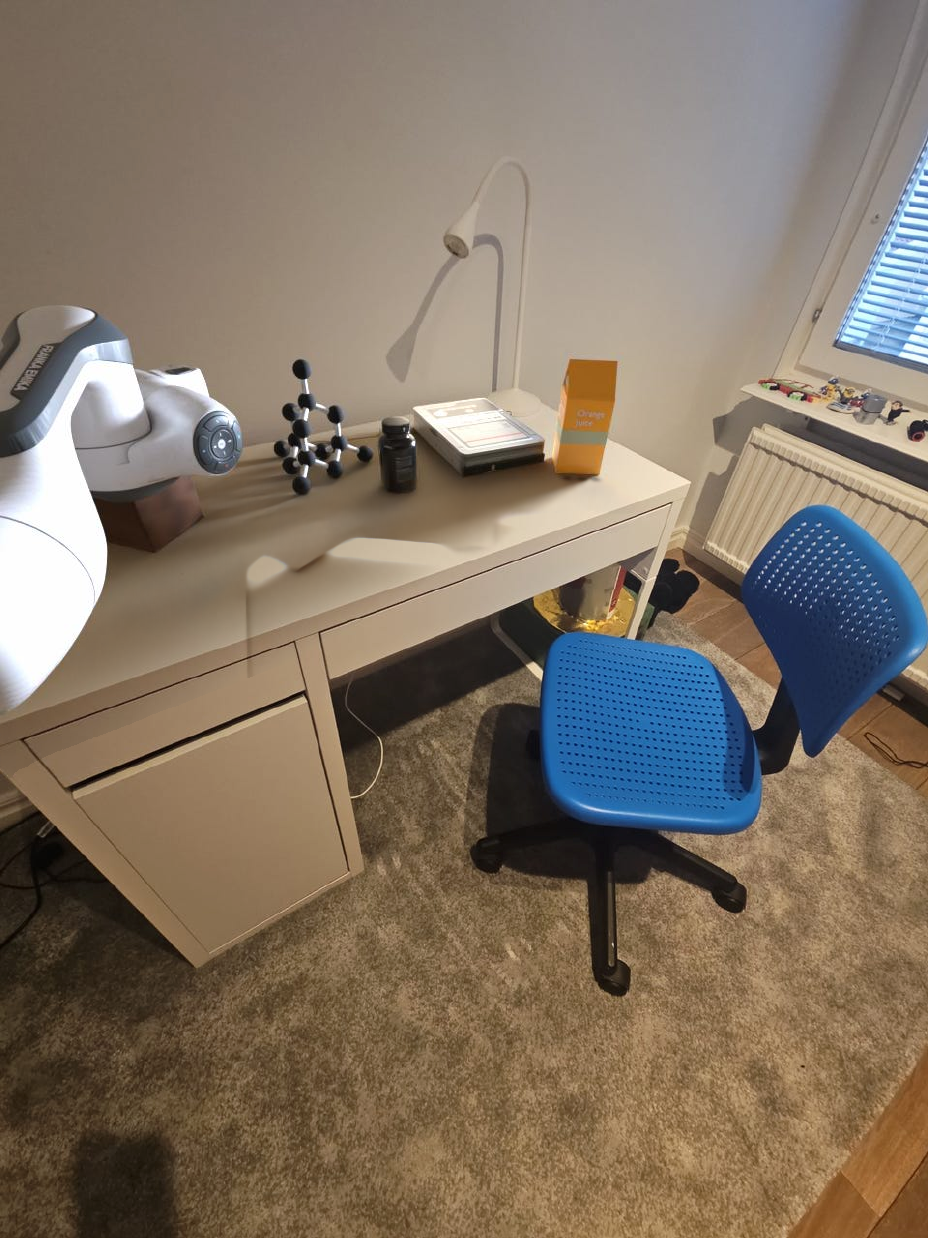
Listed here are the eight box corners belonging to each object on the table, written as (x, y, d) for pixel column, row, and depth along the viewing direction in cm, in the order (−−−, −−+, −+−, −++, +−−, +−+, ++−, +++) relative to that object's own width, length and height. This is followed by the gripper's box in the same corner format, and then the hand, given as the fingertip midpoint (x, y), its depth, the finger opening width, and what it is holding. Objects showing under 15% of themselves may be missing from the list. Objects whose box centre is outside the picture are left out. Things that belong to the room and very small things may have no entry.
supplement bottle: (420, 478, 103) (418, 415, 95) (414, 495, 98) (412, 430, 90) (384, 475, 103) (380, 412, 95) (376, 492, 98) (371, 427, 90)
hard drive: (463, 476, 104) (463, 454, 101) (412, 426, 122) (411, 406, 119) (544, 461, 110) (546, 440, 107) (484, 416, 128) (485, 397, 125)
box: (145, 504, 92) (123, 450, 86) (204, 517, 90) (186, 461, 83) (91, 538, 84) (63, 480, 77) (155, 553, 81) (131, 494, 75)
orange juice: (599, 474, 106) (622, 367, 93) (555, 472, 106) (571, 365, 93) (593, 457, 112) (614, 354, 99) (551, 456, 112) (566, 352, 99)
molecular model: (377, 461, 108) (368, 353, 95) (302, 499, 95) (280, 381, 82) (314, 439, 115) (298, 336, 102) (237, 472, 102) (207, 359, 89)
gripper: (68, 461, 62) (17, 430, 68) (223, 413, 75) (168, 391, 81) (42, 406, 58) (-10, 378, 64) (210, 365, 71) (153, 345, 77)
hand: (90, 385), depth 73 cm, fingers closed on can, 6 cm apart
